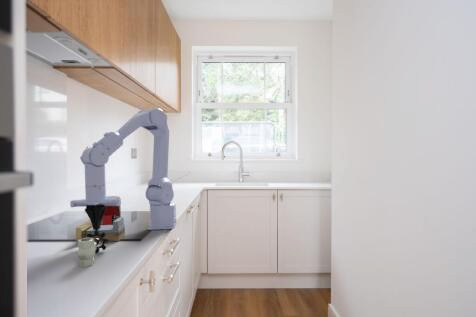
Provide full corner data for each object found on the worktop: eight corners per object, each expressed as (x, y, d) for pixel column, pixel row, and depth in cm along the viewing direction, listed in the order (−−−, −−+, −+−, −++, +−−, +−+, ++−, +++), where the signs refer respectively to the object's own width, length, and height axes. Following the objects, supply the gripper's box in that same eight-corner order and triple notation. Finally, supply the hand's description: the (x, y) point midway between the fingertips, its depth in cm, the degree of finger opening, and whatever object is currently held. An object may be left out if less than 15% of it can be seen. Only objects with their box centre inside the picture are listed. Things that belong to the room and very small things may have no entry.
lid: (124, 227, 104) (124, 217, 104) (118, 232, 98) (118, 221, 98) (94, 228, 104) (94, 218, 103) (86, 233, 97) (86, 222, 97)
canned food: (116, 228, 114) (115, 199, 114) (95, 228, 114) (94, 199, 114) (124, 223, 122) (123, 195, 121) (104, 223, 122) (103, 196, 121)
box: (125, 235, 105) (124, 227, 105) (118, 241, 98) (118, 233, 98) (94, 236, 104) (94, 228, 104) (86, 242, 97) (86, 234, 97)
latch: (98, 228, 108) (98, 214, 108) (82, 240, 94) (81, 224, 94) (92, 228, 108) (92, 214, 108) (75, 240, 94) (74, 224, 94)
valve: (98, 267, 77) (109, 251, 88) (97, 241, 76) (109, 228, 88) (69, 269, 75) (85, 253, 87) (68, 242, 75) (84, 230, 87)
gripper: (65, 188, 90) (66, 233, 91) (115, 186, 91) (116, 231, 92) (75, 185, 97) (77, 227, 98) (122, 184, 98) (123, 225, 99)
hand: (96, 229), depth 95 cm, fingers closed
